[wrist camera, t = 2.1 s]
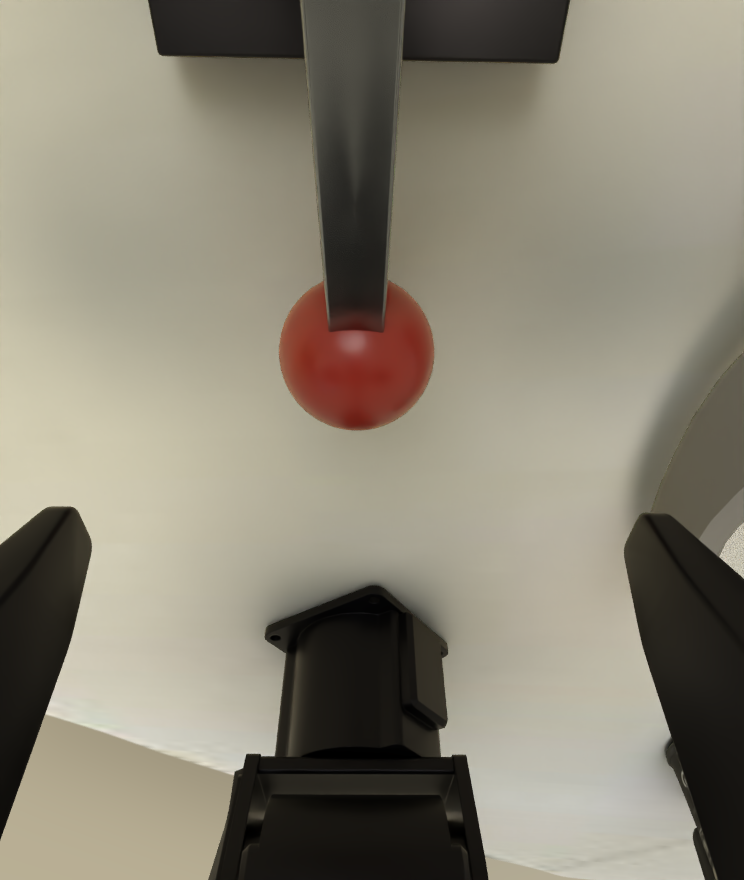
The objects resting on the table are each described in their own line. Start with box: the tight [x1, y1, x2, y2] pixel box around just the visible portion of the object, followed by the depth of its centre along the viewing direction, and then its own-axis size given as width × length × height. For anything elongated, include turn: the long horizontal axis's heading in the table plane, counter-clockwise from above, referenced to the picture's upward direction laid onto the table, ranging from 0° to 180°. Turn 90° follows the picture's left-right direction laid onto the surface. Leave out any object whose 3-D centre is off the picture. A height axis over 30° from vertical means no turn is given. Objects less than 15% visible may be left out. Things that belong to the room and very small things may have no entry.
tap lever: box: [279, 0, 434, 430], centre depth 8 cm, size 14×3×3 cm, turn 177°
